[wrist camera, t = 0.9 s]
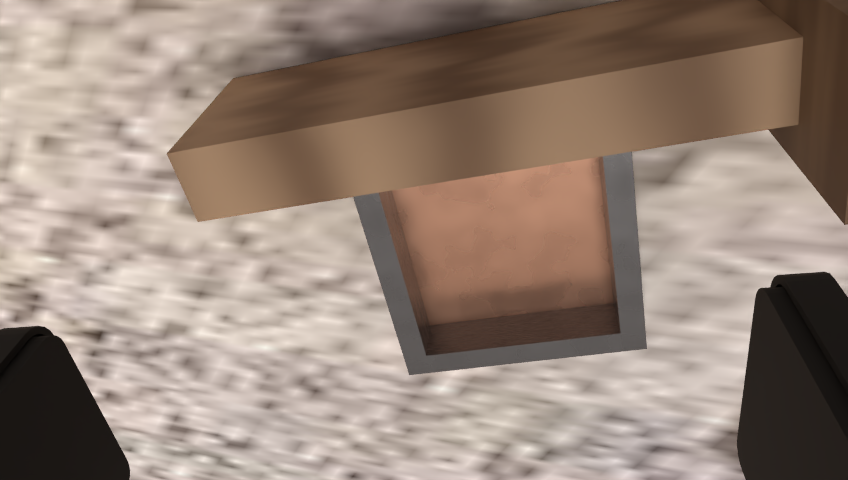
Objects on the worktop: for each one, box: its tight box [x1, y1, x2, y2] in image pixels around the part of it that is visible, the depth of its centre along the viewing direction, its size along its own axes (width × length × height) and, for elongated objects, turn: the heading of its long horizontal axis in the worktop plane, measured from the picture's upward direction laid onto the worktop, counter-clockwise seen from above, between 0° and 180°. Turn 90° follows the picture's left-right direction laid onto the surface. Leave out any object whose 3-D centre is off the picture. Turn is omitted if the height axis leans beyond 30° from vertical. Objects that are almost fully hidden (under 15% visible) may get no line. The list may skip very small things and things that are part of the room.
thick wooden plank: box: [167, 0, 848, 225], centre depth 26 cm, size 25×6×12 cm, turn 103°
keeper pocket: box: [354, 152, 647, 375], centre depth 35 cm, size 12×12×3 cm
